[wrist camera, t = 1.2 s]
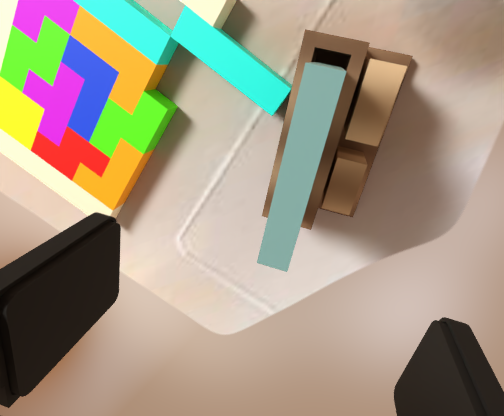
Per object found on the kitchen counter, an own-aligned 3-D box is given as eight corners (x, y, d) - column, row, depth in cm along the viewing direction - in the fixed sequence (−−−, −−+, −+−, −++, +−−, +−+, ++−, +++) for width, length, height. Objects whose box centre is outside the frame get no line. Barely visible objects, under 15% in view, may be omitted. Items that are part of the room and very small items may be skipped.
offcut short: (337, 145, 33) (337, 157, 29) (363, 152, 32) (367, 165, 28) (323, 191, 35) (321, 208, 31) (347, 197, 35) (348, 215, 31)
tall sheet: (319, 62, 30) (305, 62, 16) (340, 66, 30) (346, 71, 16) (288, 182, 35) (256, 262, 21) (306, 186, 35) (287, 271, 21)
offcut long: (364, 59, 29) (371, 58, 24) (393, 65, 29) (407, 66, 24) (343, 125, 32) (345, 138, 27) (370, 132, 32) (377, 146, 26)
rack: (311, 35, 30) (305, 29, 25) (410, 56, 29) (428, 54, 24) (273, 192, 37) (261, 216, 32) (352, 213, 36) (355, 242, 31)
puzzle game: (-15, 120, 43) (172, 256, 45) (-38, 124, 40) (161, 268, 42) (52, -152, 30) (314, 59, 32) (24, -173, 27) (312, 59, 29)
